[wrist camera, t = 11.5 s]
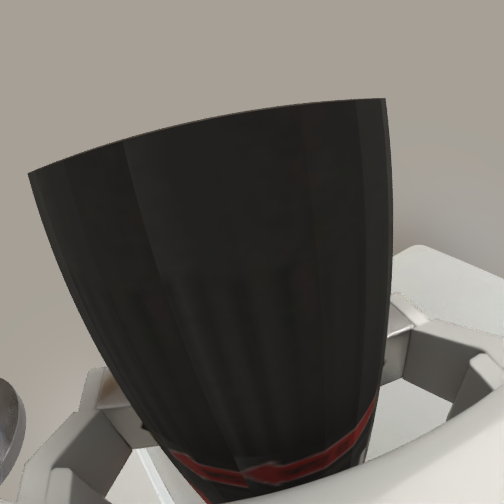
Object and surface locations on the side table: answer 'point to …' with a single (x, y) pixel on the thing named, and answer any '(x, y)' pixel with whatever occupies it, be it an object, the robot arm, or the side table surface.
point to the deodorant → (237, 285)
